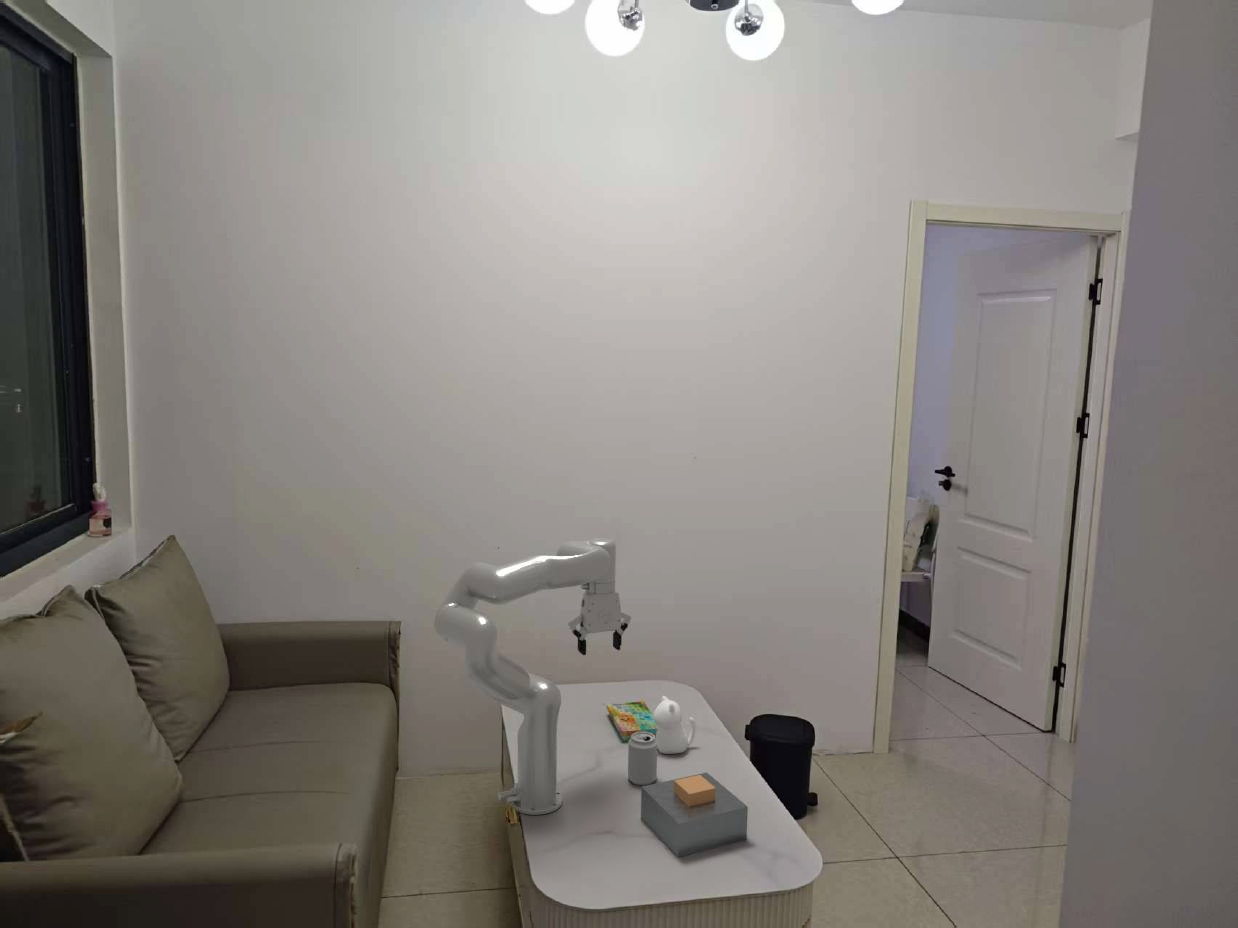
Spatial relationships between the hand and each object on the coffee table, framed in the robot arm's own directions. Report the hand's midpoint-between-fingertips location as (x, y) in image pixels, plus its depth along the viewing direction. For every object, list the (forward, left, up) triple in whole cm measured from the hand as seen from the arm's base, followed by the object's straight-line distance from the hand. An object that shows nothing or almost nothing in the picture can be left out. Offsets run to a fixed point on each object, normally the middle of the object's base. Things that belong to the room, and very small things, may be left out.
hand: (599, 651), depth 230 cm
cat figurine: (+25, +4, -34) cm, 42 cm away
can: (+9, -8, -34) cm, 36 cm away
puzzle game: (+21, +22, -34) cm, 46 cm away
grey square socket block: (+9, -34, -33) cm, 48 cm away
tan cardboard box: (+9, -34, -31) cm, 47 cm away
